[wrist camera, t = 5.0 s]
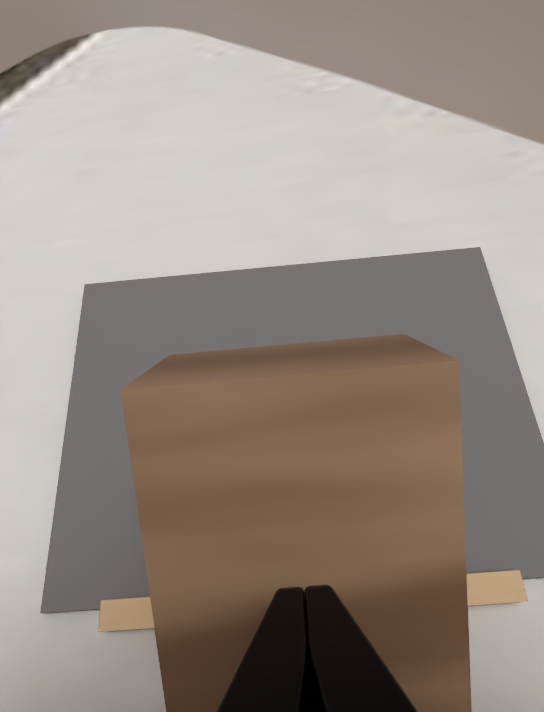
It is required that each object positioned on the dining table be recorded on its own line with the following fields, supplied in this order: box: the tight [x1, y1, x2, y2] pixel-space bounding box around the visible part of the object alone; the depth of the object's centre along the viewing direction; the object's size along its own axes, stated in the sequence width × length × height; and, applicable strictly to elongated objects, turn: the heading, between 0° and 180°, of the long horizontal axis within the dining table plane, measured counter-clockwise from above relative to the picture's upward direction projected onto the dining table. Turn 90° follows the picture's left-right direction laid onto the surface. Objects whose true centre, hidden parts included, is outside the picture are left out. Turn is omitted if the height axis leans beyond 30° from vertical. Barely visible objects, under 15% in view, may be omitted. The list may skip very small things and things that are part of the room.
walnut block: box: [121, 334, 471, 712], centre depth 12 cm, size 4×6×9 cm
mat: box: [41, 247, 544, 632], centre depth 17 cm, size 13×16×1 cm
